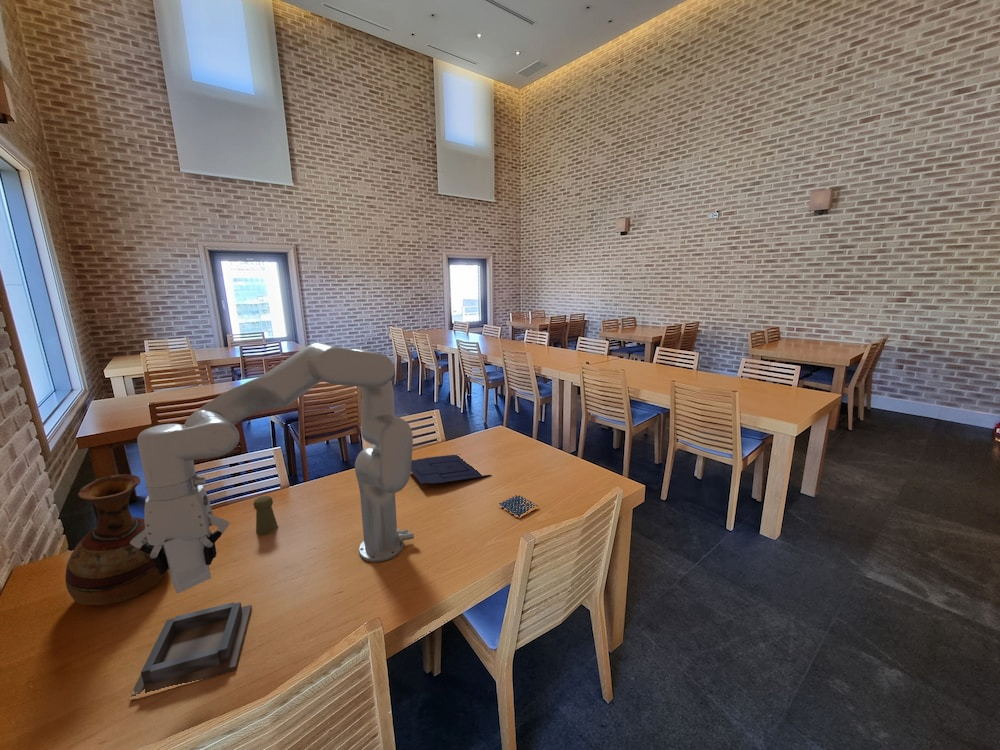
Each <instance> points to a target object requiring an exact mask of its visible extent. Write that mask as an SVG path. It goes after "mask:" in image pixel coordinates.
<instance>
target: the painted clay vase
mask: <svg viewBox="0 0 1000 750" xmlns="http://www.w3.org/2000/svg"><path fill="white" fill-rule="evenodd" d="M140 484H141V479H140V477H139V476H137V475H134V474H133V475H132V474H127V473H123V474H121V473H117V474H115V475H107V476H106V475H105V476H104V477H100V478H96V479H94V481H92V482H90V483H88V484H86V485H84V486H83V487H82V488H80V489H79V492H78V493H77V496H78V498H79V499H80V500H82V501H85V502H89V503H92V507H93V511H94V515H95V518H96V523H95V524H96V525H95V527H94V528H92V529H91V530H90V531H88V532H87V534H85V535H84V536H83V537H82V539H81V540H80V541H79V542H78V543H77V544H76V545H75V548H74V549H73V550H72V552H71V554H70V556H69V559H68V561H67V565H66V569H65V577H64V578H65V579H64V580H65V585H66V589H67V592H68V594H69V595H70V597H71V598H72V600H74V602H77V603H78V604H81V605H85V606H86V605H88V606H89V605H90V606H91V605H92V606H98V605H99V606H100V605H101V606H102V605H109V604H113V603H119V602H123V601H126V600H129V599H132V598H135V597H137V596H139V595H141V594H143V593H144V592H147V591H148V590H150V589H151V588H153V586H155V585H156V584H158V582H159V581H161V580H162V579H163V577H164V576H165V575H166V574H167V573H168V572H169V568H168V569H167V571H166V572H165V573H164V574H163V575H160V574H159V569H156V566H155V561H154V558H151V557H150V555H149V554H147V553H145V552H142V551H141V550H140V548H137V547H135V546H133V545H131V544H130V541H131V540H132V539H133V538H134V537H135V536H136V535H137V534H138V533H139V532H141V531H142V530H143V529H144V528H145V520H144V518H143V517H137V516H133V515H132V513H131V511H130V506H129V502H130V497H131V495H132V492H133V490H135V488H136V487H137V486H138V485H140ZM144 539H145V540H146V541H147V537H145V538H144ZM163 548H164V547H163Z"/></svg>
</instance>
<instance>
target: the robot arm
mask: <svg viewBox="0 0 1000 750" xmlns="http://www.w3.org/2000/svg"><path fill="white" fill-rule="evenodd" d="M394 375H395V366H394V362H393V361H392V360H391V358H390V357H389V356H387V355H385V354H383V353H379V352H376V351H371V350H368V349H363V348H351V349H348V348H344V347H338V346H335V345H331V344H328V343H327V344H326V343H323V342H315V343H312V344H308V345H306V346H305V347H303V348H301V349H300V350H298V351H297V352H296V353H294V354H292V355H291V356H290V357H288V358H286V359H285V360H283V361H282V362H281V363H279V364H278V365H275V366H274V367H273V368H272V369H269V370H268V371H267V372H265V373H264V374H262V375H261V376H258V377H257V378H253V379H251V380H249V381H246V382H245V383H243V384H240V385H238V386H235V387H233V388H231V389H229V390H227V391H225V392H223V393H221V394H219V395H217V397H215V398H213V399H211V400H210V401H208V402H207V403H206V404H204V405H202V406H201V407H199V408H198V409H196V410H195V411H194V412H193V413H191V415H189V417H188V418H187V419H186V420H185V422H184V424H179V423H166V424H158V425H155V426H151V427H148V428H146V429H143V430H142V431H141V432H139V434H138V436H137V439H136V441H137V448H138V451H139V452H138V453H139V456H140V460H141V461H140V462H141V466H142V472H143V476H144V477H143V478H144V480H145V485H146V490H147V497H146V498H145V501H144V512H143V513H144V514H143V515H144V518H143V519H144V520H145V528H144V529H143V530H142V531H141V532H139V533H138V534H137V535H136V536H135V537H134V538H133V539H132V540H131V541H130V544H131V545H133V546H135V547H137V548H140V550H141V551H142V552H145V553H147V554H149V555H150V557H151V558H154V561H155V566H156V569H159V574H160V575H163V574H164V573H165V572H166V571H167V569H168V564H167V560H166V555H165V551H164V548H163V545H164V541H165V540H170V539H176V538H180V539H182V540H183V541H188V540H193V539H199V540H200V541H201V542H202V543H203V544H204V545H205V547H204V549H203V551H204V556H205V562H206V565H209V566H210V565H212V562H213V560H214V559H215V558H216V557H217V547H216V542H217V541H218V540H219V539H220V537H221V536H222V535H223V534H224V533H225V531H226V529H228V527H229V525H230V521H229V520H226V519H224V518H222V517H220V516H217V515H214V513H213V509H212V505H211V502H210V500H209V496H208V494H207V492H206V489H205V486H203V485H205V483H206V477H204V476H203V477H200V476H198V473H197V472H196V469H195V467H196V466H195V463H194V460H200V459H201V460H203V459H212V458H217V457H221V456H224V455H227V454H229V453H230V452H232V451H233V450H234V449H236V448H237V446H238V445H239V442H240V432H239V430H238V429H237V427H236V426H235V425H236V424H238V423H239V422H241V421H242V420H244V419H246V418H247V417H250V416H252V415H254V414H256V413H259V412H263V411H269V410H276V409H280V408H281V409H282V408H284V407H288V406H290V405H291V404H292V403H294V402H295V401H297V400H298V399H299V398H300V397H302V396H303V395H304V394H305V393H307V392H308V391H310V390H312V388H314V387H315V386H316V385H318V384H320V383H321V382H325V383H327V384H333V385H339V386H349V387H358V388H359V390H360V394H361V419H360V420H361V421H360V423H361V424H360V434H361V437H362V439H363V440H364V441H365V442H367V443H368V444H370V445H372V446H368V447H365V448H364V449H362V450H360V452H359V453H358V454H357V457H356V459H355V462H354V472H355V476H356V477H355V478H356V480H357V484H358V488H359V496H360V508H361V519H362V520H361V521H362V533H363V541H362V542H361V543H360V544H359V548H358V554H359V556H360V558H361V559H363V560H364V561H367V562H371V563H381V562H385V561H388V560H391V559H392V558H395V557H397V556H398V555H399V554H400V553H401V552H402V550H403V548H404V541H408V540H413V539H414V537H415V536H414V535H415V534H414V531H411V532H410V531H409V529H408V528H406V529H403V530H400V529H399V528H398V525H397V523H398V522H397V507H396V506H397V505H396V494H397V493H399V492H401V491H402V490H403V489H404V488H405V487H406V486H407V484H408V483H409V480H410V477H411V473H412V472H411V465H412V460H413V448H414V447H413V446H414V443H413V442H414V436H413V435H414V434H413V431H412V428H411V426H410V424H409V423H408V422H407V421H406V420H404V419H403V418H401V417H398V416H396V414H395V393H394V392H395V391H394V386H393V383H392V381H391V380H392V379H393V377H394ZM212 526H215V527H217V529H216V530H215V531H214V532H213V531H212V530H211V529H210V528H211V527H212ZM145 537H147V541H146V540H145V539H144V538H145ZM168 570H169V569H168ZM167 572H168V571H167Z"/></svg>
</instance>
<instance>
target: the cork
mask: <svg viewBox="0 0 1000 750" xmlns="http://www.w3.org/2000/svg"><path fill="white" fill-rule="evenodd" d="M273 504H274V502H273V498H272V497H271V496H270V495H262V496H259V497H257V498H255V500H254V501H253V508H254V509H255V511H256V513H255V514H256V516H255V518H256V519H255V521H256V522H255V524H256V525H255V533H256V534H257V535H258V536H266V535H268V534H271V533H274V532H275V531H276V530H277V529H278V528H279V526H278V523H277V520H276V517H275V513H274V510H273V507H272V506H273Z"/></svg>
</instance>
